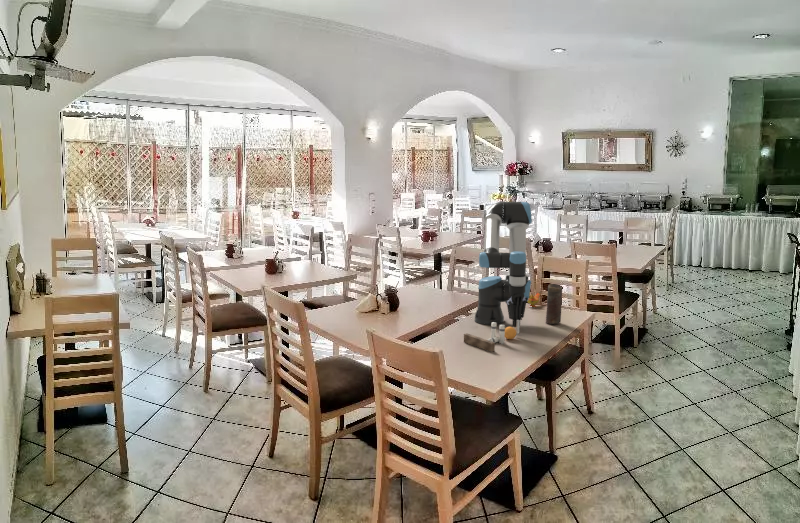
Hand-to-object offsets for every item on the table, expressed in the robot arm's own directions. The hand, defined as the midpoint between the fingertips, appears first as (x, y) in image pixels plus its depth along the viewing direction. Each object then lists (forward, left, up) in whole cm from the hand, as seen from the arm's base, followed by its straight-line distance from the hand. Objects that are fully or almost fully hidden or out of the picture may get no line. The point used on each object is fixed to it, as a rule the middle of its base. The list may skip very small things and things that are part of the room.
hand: (516, 332), depth 283 cm
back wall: (-8, -23, -2) cm, 24 cm away
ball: (-1, -5, +1) cm, 5 cm away
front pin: (-3, -9, -1) cm, 10 cm away
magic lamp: (-15, +61, -2) cm, 63 cm away
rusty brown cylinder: (+7, +32, -2) cm, 33 cm away
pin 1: (-6, -11, -2) cm, 13 cm away
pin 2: (-2, -13, -2) cm, 13 cm away
